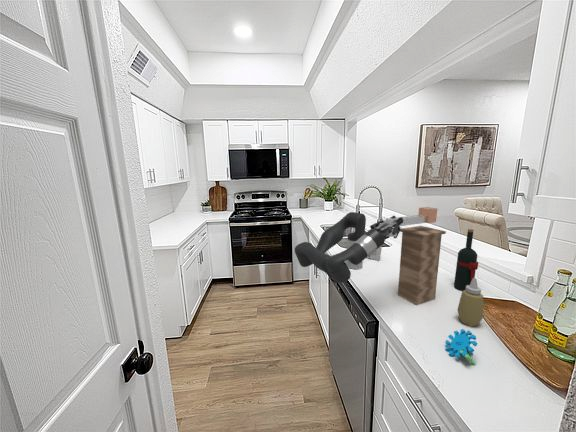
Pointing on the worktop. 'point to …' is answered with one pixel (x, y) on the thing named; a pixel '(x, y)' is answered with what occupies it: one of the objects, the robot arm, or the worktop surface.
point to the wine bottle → (466, 264)
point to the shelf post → (419, 263)
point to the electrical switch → (375, 254)
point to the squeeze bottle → (471, 305)
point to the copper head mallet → (417, 217)
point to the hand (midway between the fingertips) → (398, 218)
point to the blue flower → (462, 345)
